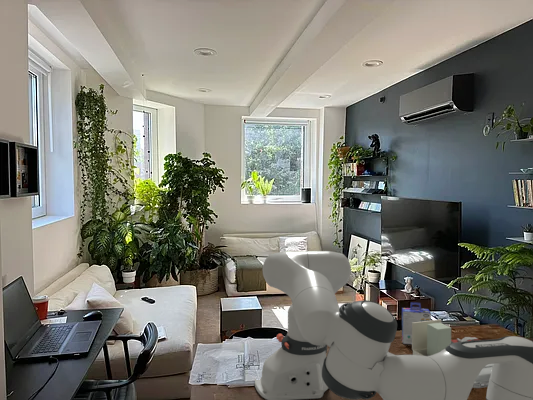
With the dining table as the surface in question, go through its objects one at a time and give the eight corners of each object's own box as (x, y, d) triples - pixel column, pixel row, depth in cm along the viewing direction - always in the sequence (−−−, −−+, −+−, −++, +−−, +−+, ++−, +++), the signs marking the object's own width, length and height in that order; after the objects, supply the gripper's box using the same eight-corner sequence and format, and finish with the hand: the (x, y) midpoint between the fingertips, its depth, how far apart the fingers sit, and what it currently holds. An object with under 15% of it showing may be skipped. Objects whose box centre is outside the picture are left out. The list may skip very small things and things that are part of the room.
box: (437, 370, 122) (438, 329, 121) (426, 363, 126) (427, 324, 126) (450, 368, 123) (451, 327, 122) (439, 361, 128) (440, 322, 127)
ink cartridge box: (428, 340, 145) (429, 302, 144) (431, 346, 140) (432, 307, 139) (401, 338, 147) (401, 300, 147) (402, 344, 142) (403, 305, 141)
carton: (446, 383, 113) (447, 341, 113) (411, 359, 129) (412, 322, 129) (477, 377, 116) (478, 337, 116) (439, 355, 132) (440, 319, 132)
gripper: (476, 399, 97) (438, 373, 110) (539, 387, 102) (495, 364, 116) (477, 374, 96) (438, 352, 110) (539, 364, 102) (495, 343, 115)
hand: (467, 358), depth 113 cm, fingers open, 8 cm apart
